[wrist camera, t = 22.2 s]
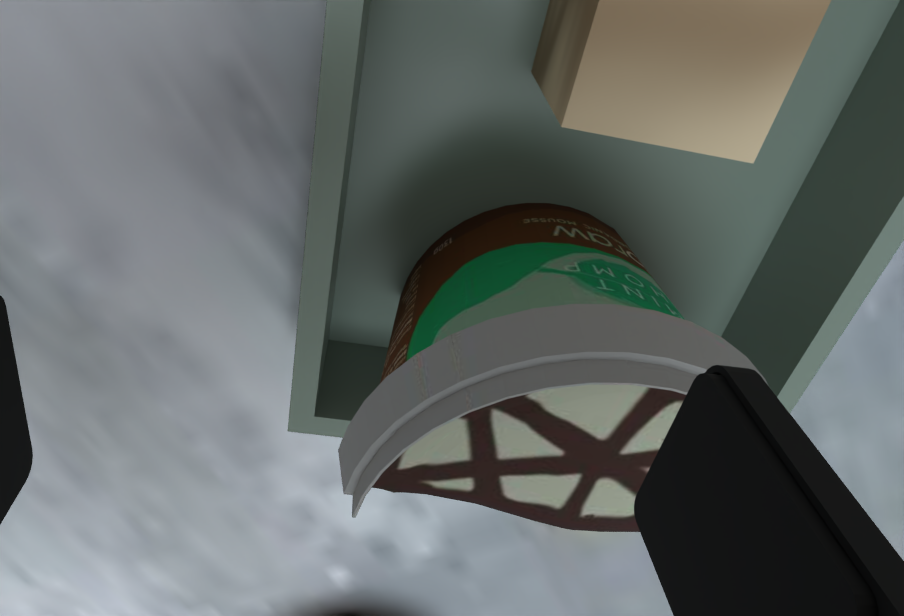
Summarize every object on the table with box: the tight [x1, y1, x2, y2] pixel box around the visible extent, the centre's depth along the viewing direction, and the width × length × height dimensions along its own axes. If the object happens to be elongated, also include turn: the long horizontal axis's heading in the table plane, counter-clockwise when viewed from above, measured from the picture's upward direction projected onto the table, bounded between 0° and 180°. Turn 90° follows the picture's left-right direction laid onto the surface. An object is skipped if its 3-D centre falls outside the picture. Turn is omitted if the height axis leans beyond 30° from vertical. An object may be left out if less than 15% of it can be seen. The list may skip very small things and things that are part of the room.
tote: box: [288, 0, 904, 438], centre depth 20 cm, size 20×17×5 cm
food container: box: [338, 203, 768, 532], centre depth 19 cm, size 12×6×10 cm, turn 74°
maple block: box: [531, 0, 831, 163], centre depth 17 cm, size 5×5×5 cm
